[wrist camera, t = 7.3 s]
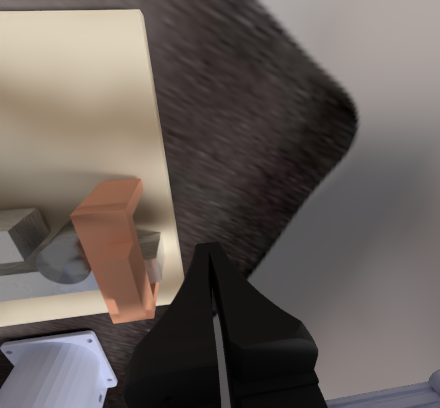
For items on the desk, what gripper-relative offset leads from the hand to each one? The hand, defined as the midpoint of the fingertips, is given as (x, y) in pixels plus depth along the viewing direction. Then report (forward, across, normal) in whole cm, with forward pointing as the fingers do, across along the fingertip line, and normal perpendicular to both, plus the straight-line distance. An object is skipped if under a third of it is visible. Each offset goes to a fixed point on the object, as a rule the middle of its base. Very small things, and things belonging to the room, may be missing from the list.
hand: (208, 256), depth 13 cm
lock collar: (+4, +5, 0) cm, 6 cm away
